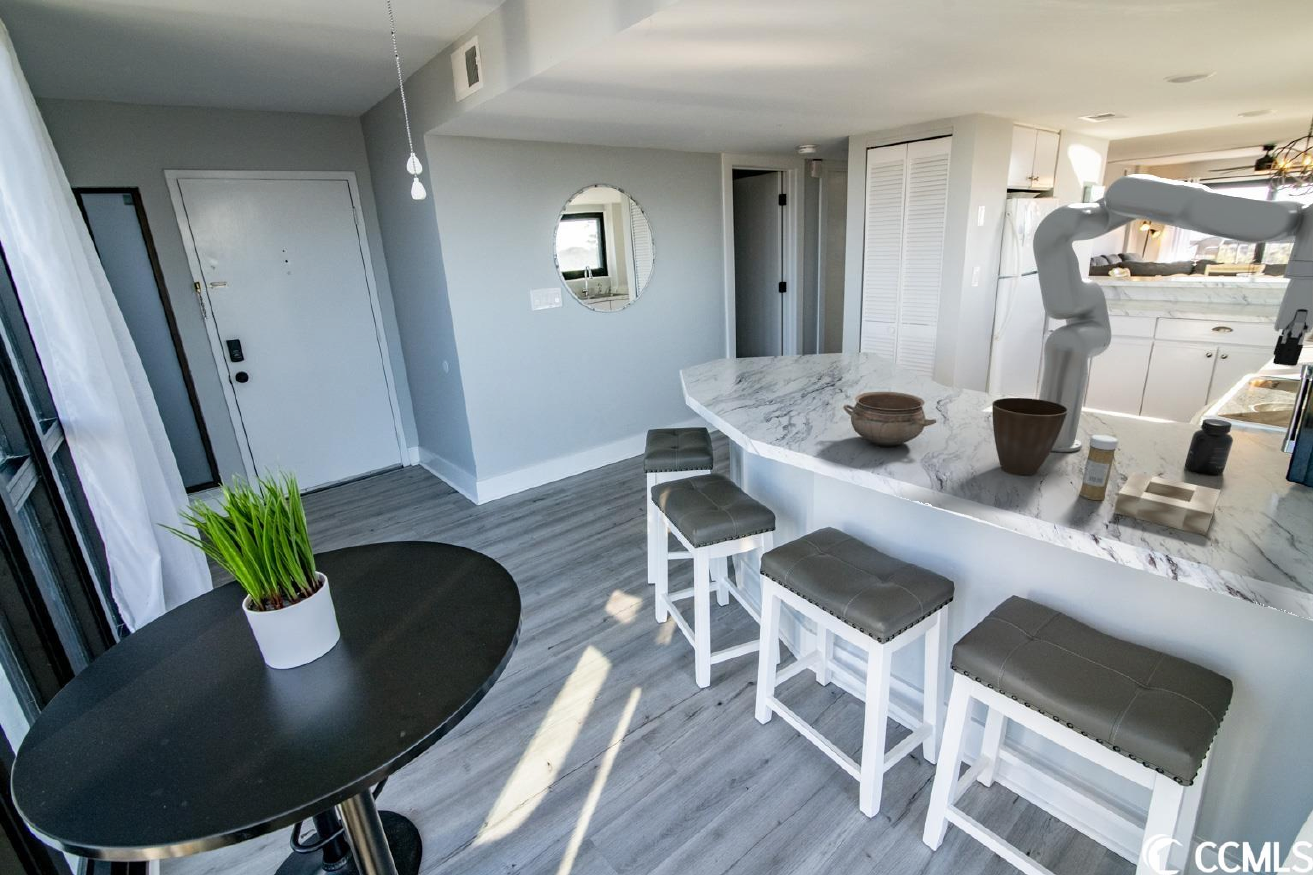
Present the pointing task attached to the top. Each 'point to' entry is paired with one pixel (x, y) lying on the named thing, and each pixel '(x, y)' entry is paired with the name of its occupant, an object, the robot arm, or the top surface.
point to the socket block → (1167, 502)
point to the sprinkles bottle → (1098, 467)
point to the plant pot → (1025, 432)
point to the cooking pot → (888, 417)
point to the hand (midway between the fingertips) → (1284, 360)
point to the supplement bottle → (1210, 448)
